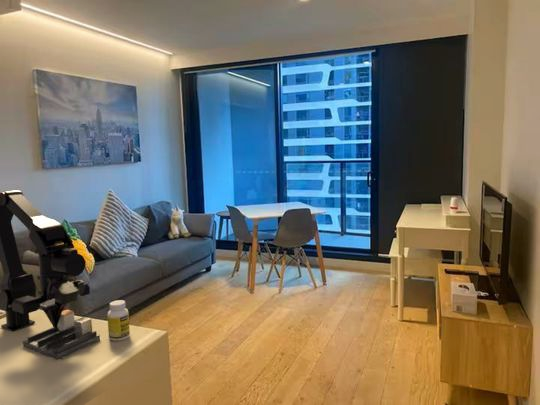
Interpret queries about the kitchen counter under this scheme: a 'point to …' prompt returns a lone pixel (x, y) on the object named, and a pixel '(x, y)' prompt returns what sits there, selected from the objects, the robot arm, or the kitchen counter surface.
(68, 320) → the block
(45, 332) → the breaker panel
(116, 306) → the supplement bottle
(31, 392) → the kitchen counter surface
